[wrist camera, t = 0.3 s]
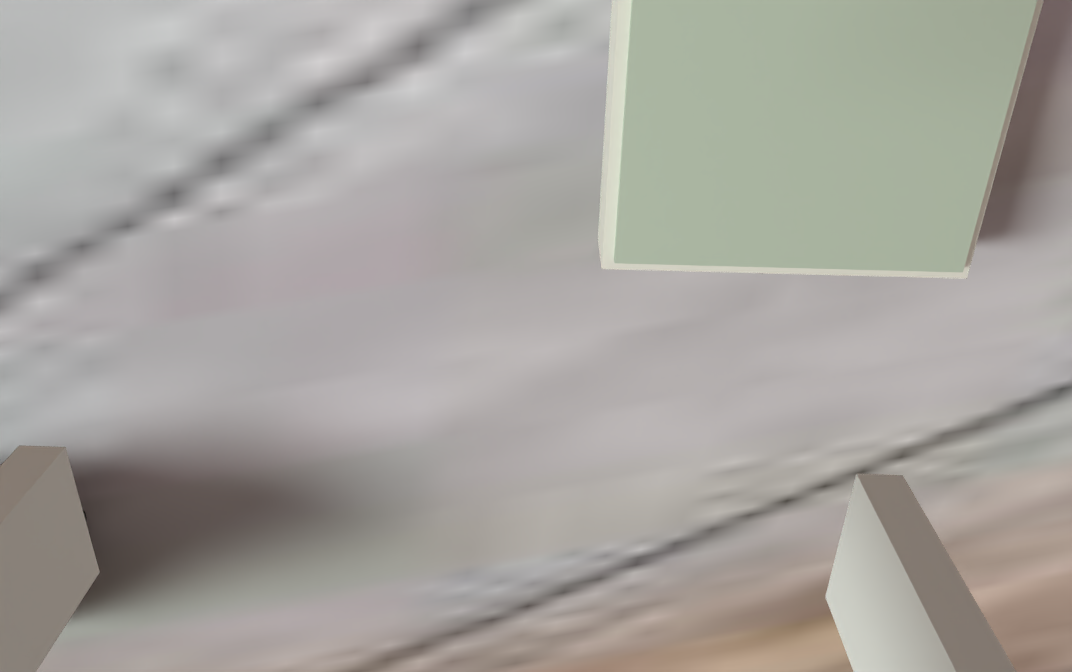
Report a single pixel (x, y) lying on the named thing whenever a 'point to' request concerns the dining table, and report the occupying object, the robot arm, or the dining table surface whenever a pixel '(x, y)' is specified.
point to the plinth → (806, 133)
